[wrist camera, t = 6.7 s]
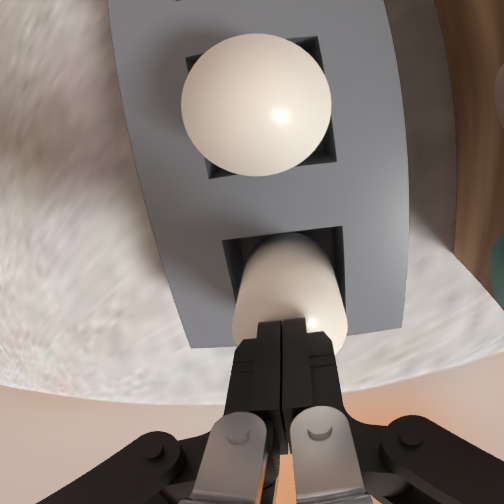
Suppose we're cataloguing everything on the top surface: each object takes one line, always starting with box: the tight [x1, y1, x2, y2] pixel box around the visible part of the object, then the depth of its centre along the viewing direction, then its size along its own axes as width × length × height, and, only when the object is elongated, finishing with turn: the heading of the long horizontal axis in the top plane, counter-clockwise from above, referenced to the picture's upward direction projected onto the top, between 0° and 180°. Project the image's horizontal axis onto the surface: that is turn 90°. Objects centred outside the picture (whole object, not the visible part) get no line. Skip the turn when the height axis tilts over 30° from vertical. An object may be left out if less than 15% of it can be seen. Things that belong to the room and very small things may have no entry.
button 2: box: [181, 34, 331, 176], centre depth 9 cm, size 4×4×4 cm
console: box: [108, 0, 409, 348], centre depth 12 cm, size 10×20×4 cm, turn 10°
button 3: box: [232, 233, 348, 355], centre depth 12 cm, size 4×4×4 cm
